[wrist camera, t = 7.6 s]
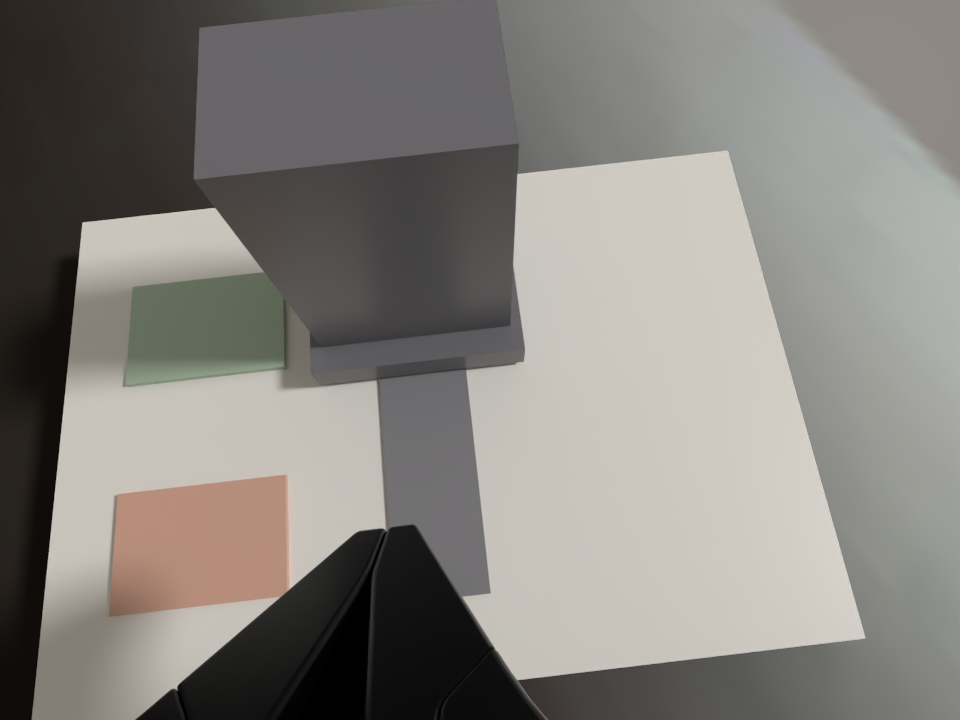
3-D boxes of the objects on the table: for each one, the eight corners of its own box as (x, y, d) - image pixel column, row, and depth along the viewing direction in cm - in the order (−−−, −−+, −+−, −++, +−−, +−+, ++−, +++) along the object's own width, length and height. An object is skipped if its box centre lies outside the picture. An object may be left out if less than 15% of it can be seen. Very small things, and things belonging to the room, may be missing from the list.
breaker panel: (825, 631, 17) (870, 639, 15) (81, 720, 17) (23, 740, 15) (707, 187, 22) (729, 146, 20) (118, 254, 22) (78, 219, 20)
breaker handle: (523, 361, 18) (544, 179, 10) (320, 384, 18) (172, 221, 10) (504, 222, 19) (507, -37, 11) (316, 243, 19) (183, -2, 11)
